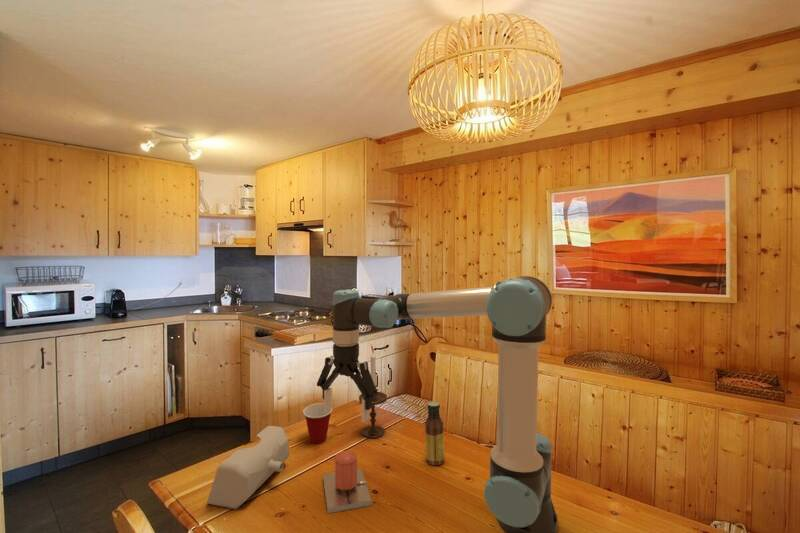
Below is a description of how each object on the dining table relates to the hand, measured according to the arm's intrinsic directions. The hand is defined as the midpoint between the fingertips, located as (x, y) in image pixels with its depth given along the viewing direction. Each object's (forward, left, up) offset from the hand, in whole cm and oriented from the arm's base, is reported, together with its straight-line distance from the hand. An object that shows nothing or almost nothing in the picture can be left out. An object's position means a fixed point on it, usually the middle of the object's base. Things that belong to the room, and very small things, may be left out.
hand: (346, 415), depth 110 cm
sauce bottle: (+8, -31, -23) cm, 39 cm away
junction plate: (0, 0, -23) cm, 23 cm away
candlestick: (+33, -15, -23) cm, 43 cm away
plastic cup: (+33, +6, -23) cm, 41 cm away
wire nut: (0, 0, -20) cm, 20 cm away
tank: (+11, +26, -23) cm, 36 cm away
